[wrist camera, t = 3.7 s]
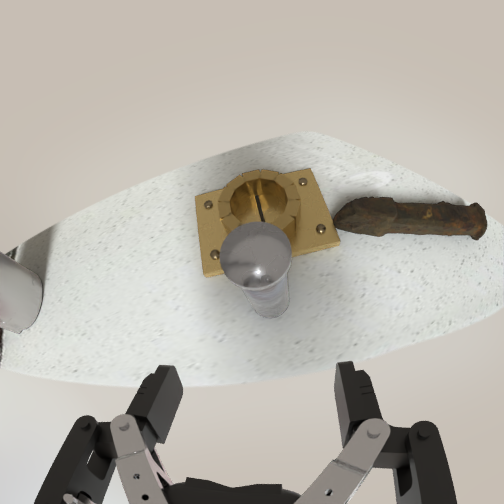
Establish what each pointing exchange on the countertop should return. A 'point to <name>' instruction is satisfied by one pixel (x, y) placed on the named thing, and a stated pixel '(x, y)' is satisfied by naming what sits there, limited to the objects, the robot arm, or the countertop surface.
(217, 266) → the brass socket plate
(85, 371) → the countertop surface
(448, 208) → the hand tool
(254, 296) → the hinge pin
